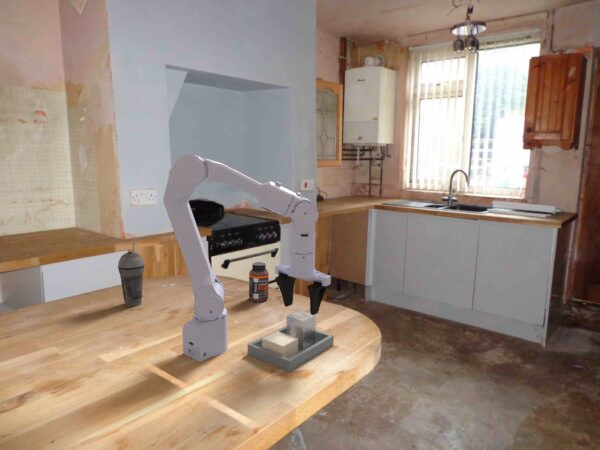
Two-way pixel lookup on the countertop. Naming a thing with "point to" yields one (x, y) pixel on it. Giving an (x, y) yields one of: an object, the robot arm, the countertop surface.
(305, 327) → the tin
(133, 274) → the beverage cup
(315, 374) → the countertop surface
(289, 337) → the cream bevelled block
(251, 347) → the tote
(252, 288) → the supplement bottle
